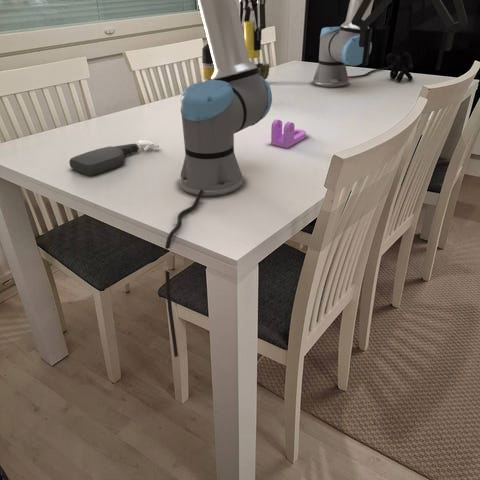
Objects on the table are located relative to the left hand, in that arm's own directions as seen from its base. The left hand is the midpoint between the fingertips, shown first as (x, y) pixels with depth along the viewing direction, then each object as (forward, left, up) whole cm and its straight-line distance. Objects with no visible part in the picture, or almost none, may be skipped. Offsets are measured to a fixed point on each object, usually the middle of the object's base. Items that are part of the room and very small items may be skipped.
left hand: (400, 67), depth 86 cm
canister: (+73, +55, -12) cm, 92 cm away
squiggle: (+124, +1, -29) cm, 127 cm away
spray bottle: (+3, +71, -29) cm, 77 cm away
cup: (+101, +60, -29) cm, 121 cm away
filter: (+71, +71, -29) cm, 104 cm away
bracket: (+32, +29, -29) cm, 52 cm away
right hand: (+73, +55, -10) cm, 92 cm away
